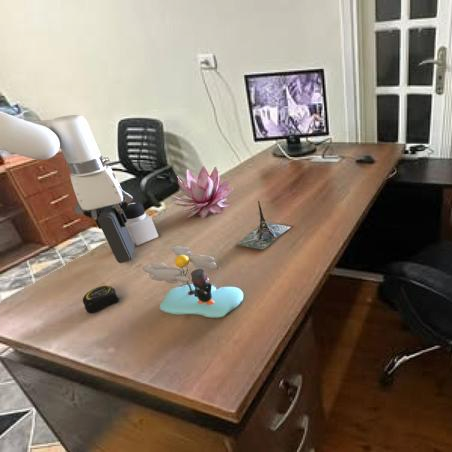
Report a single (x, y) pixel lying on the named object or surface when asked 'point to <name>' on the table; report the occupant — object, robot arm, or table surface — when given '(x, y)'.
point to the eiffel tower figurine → (263, 234)
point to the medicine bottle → (139, 224)
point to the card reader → (116, 234)
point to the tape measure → (100, 299)
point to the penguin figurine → (194, 287)
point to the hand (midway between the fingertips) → (114, 226)
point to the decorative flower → (204, 192)
